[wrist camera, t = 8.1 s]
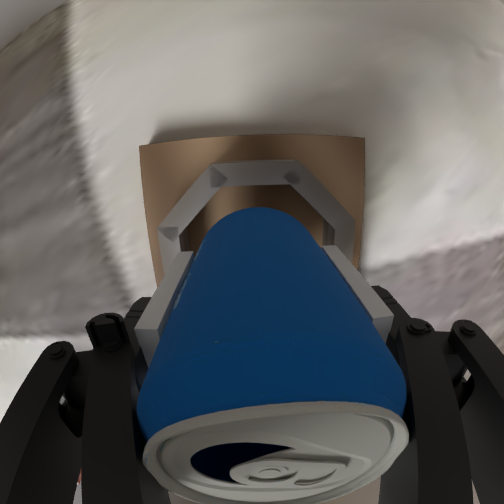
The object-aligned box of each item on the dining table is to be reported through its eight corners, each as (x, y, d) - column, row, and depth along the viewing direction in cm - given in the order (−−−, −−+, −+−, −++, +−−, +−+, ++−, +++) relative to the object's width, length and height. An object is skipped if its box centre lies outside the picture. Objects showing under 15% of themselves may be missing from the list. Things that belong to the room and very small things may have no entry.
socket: (172, 326, 22) (160, 358, 18) (147, 145, 17) (122, 145, 13) (343, 318, 22) (359, 348, 18) (355, 138, 17) (382, 137, 13)
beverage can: (225, 184, 14) (148, 326, 3) (335, 233, 15) (477, 400, 4) (184, 288, 16) (115, 485, 5) (283, 324, 17) (318, 514, 6)
